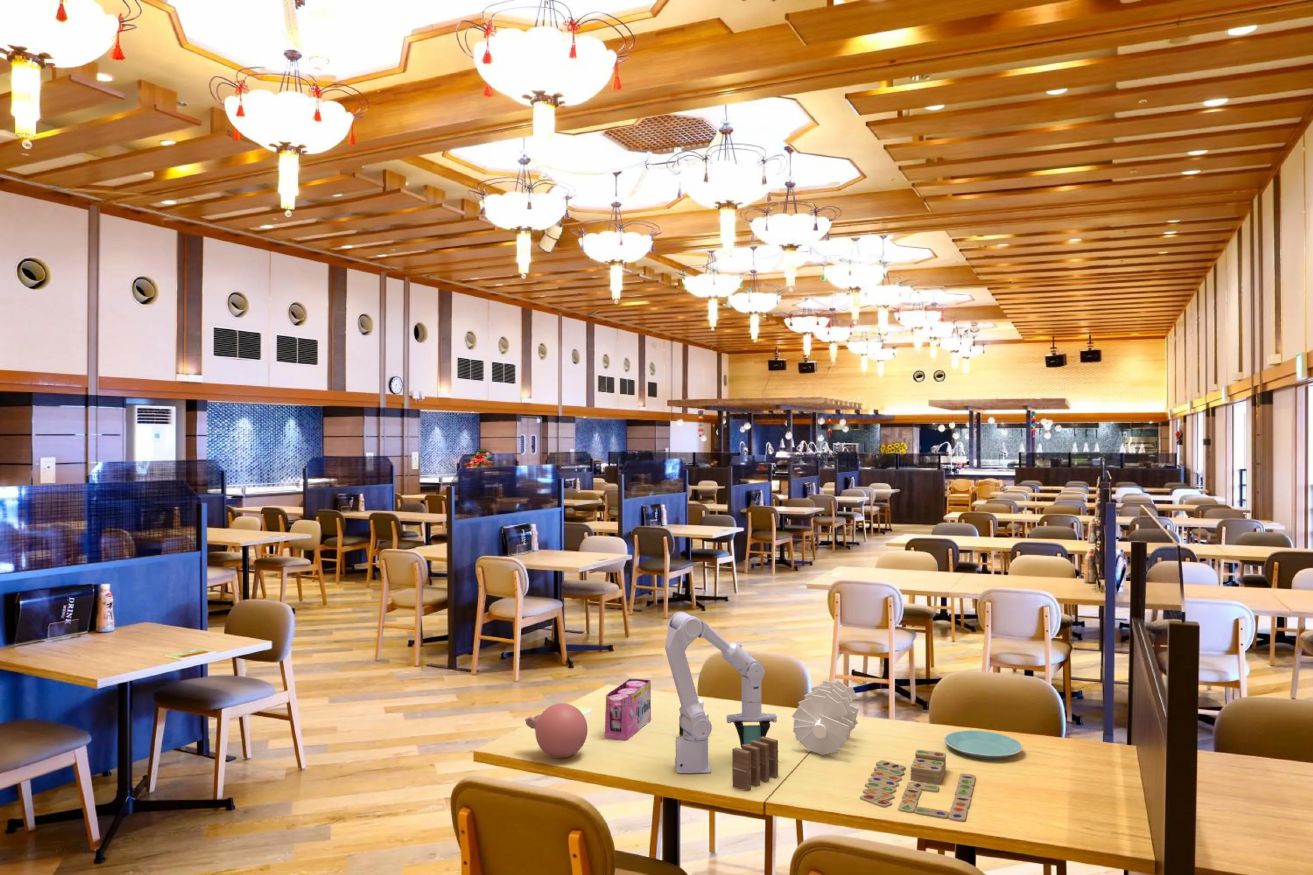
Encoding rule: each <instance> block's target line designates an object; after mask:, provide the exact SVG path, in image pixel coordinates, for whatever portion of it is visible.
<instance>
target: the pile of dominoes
mask: <svg viewBox="0 0 1313 875" xmlns="http://www.w3.org/2000/svg"><path fill="white" fill-rule="evenodd" d="M914 756H915V758H914V759H913V761H912V764H911V766H910V781H908V782H907V785H906V788H905V789H904V792H903V794H902V796H901V801H900V803H899V805H898V808H897V811H899V812H901V813H908V814H915V815H919V816H925V817H931V818H936V819H942V820H949V821H952V822H953V821H954V822H958V823H959V822H960V823H965V822H966V820H967V817H968V813H969V812H968V810H970V807H971V804H972V797H973V792H974V788H975V786H976V785H975V784H976V780H977V778H976V775H975V774H973V773H960V774H959V778H958V783H957V785H956V788H955V791H954V797H953V798H954V799H953V801H952V804H951V807H950V809H949V811H948V810H944V809H943V810H942V809H936V808H930V807H923V806H918V804H919V799H920V797H921V795H922V792H926V793H927V792H929V793H939V790H940V786H941V785H942V782H943V781H944V778H945V775H946V769H947V767H946V766H947V765H946V763H947V762H946V761H947V754H946V752H939V751H932V750H924V749H916V751H915V753H914ZM906 768H907V767H906V766H905V765H902V764H899V763H894V762H891V761H887V760H879V761H877V762H875V767H874V768H873V771H872V772H871V773H870V777H869V778H868V779H867V782H865V784H864V788H865V789H863V790H862V793H863V794H862V795H860V796H859V799H860V801H864V802H865V803H869V804H872V805H874V806H877V807H880V808H888V807H891V806H892V805H893V802H892V801H893V800H894V799H895V798H896V797H895V794H894V793H896V792H897V787H900V783H899V782H901V781H903V776H904V775H905V770H907V769H906Z"/></svg>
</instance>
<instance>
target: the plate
mask: <svg viewBox="0 0 1313 875" xmlns="http://www.w3.org/2000/svg"><path fill="white" fill-rule="evenodd" d="M943 739H944V742H945V744H946V745H947V746H948V747H949V748H952V749H953V750H955V751H957V752H959V753H961V754H963V755H965V756H969V757H972V758H976V759H977V758H978V759H982V760H983V759H984V760H1001V759H1005V758H1008V757H1010V756H1014V755H1017V754H1019V753H1020V752H1021V751H1022V750H1023V744H1022V743H1021V742H1020V741H1019V740H1017V739H1015V738H1013V737H1010V736H1007V735H1006V734H1001V733H999V732H993V731H988V730H987V731H986V730H974V729H973V730H971V729H969V730H960V731H952V732H949V733H947V734H946V735H945V736H944V738H943Z"/></svg>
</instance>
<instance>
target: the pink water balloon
mask: <svg viewBox="0 0 1313 875" xmlns="http://www.w3.org/2000/svg"><path fill="white" fill-rule="evenodd" d="M524 721H525V724H526V725H527V727H529V728H530V729H534V732H535V739H536V743H537V745H538V747H539V748H540V749H541V750H542V752H544V753H545V754H546V755H547V756H550V757H552V758H555V759H565V758H569V757H572V756H573V755H575V754H576V753H578V752H579V751H580V750H581V749H582V747H583V746H584V745H585V743H586V740H587V736H588V731H589V730H588V723H587V720H586V717H585V715H584V714H583V713H582V711H581V710H580V709H579V708H578V707H576V706H575V705H572V704H569V703H564V702H563V703H562V702H561V703H555V704H552V705H550V706H548V707H547V708H545V710H544V711H542V712H541V714H537V715H535V716H534V717H531V716H529V717H527V718H525V719H524Z"/></svg>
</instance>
